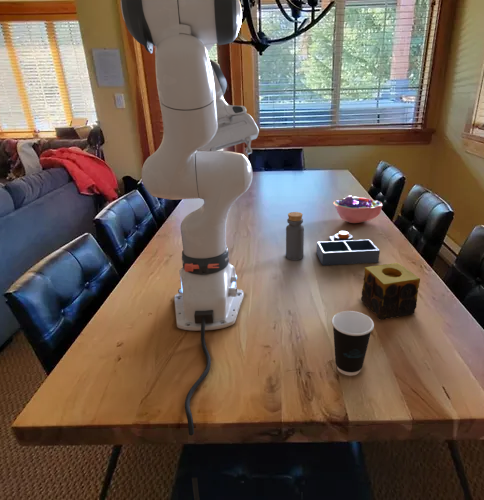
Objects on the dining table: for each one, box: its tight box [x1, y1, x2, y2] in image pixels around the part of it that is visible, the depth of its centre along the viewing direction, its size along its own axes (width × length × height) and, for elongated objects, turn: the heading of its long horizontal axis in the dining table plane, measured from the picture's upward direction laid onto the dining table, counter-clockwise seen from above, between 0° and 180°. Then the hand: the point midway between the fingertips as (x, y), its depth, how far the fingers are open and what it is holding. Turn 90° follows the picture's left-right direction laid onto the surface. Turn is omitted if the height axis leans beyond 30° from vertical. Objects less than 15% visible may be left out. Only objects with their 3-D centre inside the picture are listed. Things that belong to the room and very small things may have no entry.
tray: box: [316, 238, 381, 266], centre depth 123 cm, size 10×18×4 cm, turn 95°
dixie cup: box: [331, 310, 375, 377], centre depth 74 cm, size 8×8×11 cm
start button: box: [338, 230, 350, 238], centre depth 134 cm, size 4×4×2 cm
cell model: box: [332, 195, 383, 224], centre depth 155 cm, size 17×20×11 cm
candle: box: [360, 262, 421, 321], centre depth 94 cm, size 10×10×10 cm
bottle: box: [285, 211, 305, 261], centre depth 123 cm, size 6×6×15 cm
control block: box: [328, 232, 354, 241], centre depth 135 cm, size 10×8×3 cm
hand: (235, 157), depth 115 cm, fingers open, 8 cm apart
